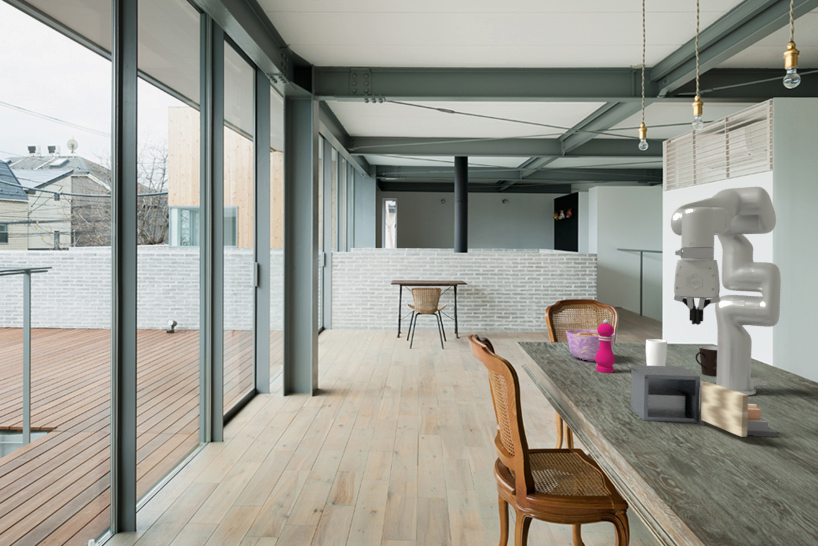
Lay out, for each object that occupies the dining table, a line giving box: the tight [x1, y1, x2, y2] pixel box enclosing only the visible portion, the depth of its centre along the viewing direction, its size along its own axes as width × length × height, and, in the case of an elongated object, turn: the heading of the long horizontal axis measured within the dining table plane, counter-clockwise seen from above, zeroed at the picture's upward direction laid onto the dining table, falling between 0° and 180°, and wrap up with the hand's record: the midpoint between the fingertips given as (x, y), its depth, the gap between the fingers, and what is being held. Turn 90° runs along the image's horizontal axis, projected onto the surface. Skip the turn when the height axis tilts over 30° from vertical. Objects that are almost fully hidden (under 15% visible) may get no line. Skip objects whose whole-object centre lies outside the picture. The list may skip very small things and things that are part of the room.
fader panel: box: [747, 419, 778, 438], centre depth 137 cm, size 9×18×4 cm, turn 173°
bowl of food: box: [565, 328, 616, 362], centre depth 221 cm, size 20×20×12 cm
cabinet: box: [630, 364, 701, 424], centre depth 145 cm, size 14×12×12 cm
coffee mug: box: [695, 345, 717, 377], centre depth 194 cm, size 12×9×10 cm
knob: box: [747, 403, 762, 420], centre depth 132 cm, size 4×4×5 cm
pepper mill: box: [594, 318, 616, 374], centre depth 199 cm, size 7×7×20 cm
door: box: [699, 380, 749, 438], centre depth 131 cm, size 14×2×12 cm, turn 11°
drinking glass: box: [645, 338, 668, 366], centre depth 181 cm, size 7×7×15 cm
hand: (696, 323), depth 137 cm, fingers closed
